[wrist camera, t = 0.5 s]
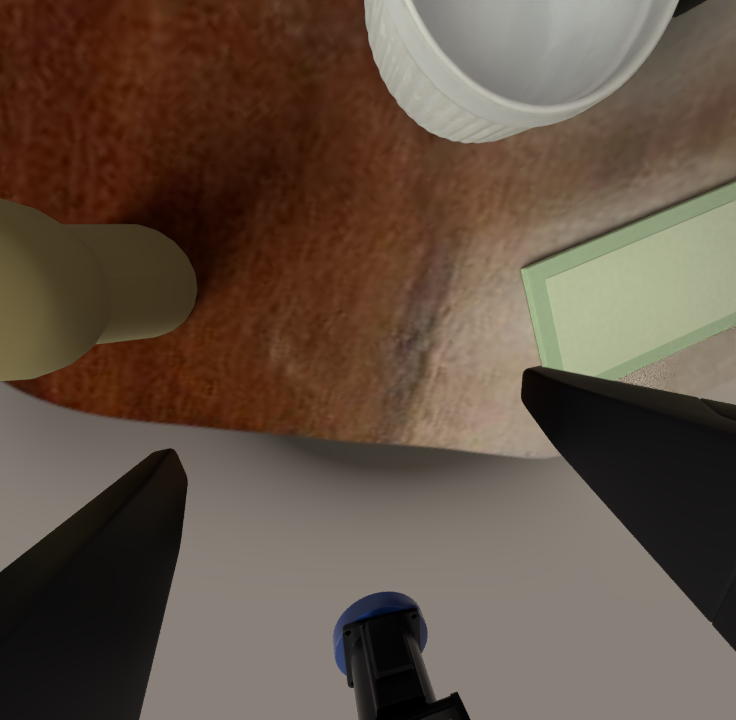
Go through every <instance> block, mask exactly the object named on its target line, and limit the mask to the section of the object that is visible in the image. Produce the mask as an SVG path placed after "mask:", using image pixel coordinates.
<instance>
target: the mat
mask: <svg viewBox="0 0 736 720" xmlns="http://www.w3.org/2000/svg"><path fill="white" fill-rule="evenodd" d="M521 273H522V278H523V282H524V287H525V291H526V296H527V300H528V305H529V309H530V314H531V318H532V323H533V327H534V332H535V336H536V341H537V345H538V349H539V354H540V358H541V363H542V366H543V367H548V368H553V369H558V370H563V371H568V372H573V373H578V374H583V375H588V376H593V377H598V378H603V379H608V380H613V381H615V380H617V379H619V378H621V377H624V376H626V375H628V374H630V373H632V372H635V371H637V370H639V369H641V368H643V367H645V366H648V365H650V364H652V363H654V362H656V361H659V360H661V359H663V358H665V357H667V356H669V355H672V354H674V353H676V352H678V351H680V350H683V349H685V348H687V347H689V346H691V345H693V344H696V343H698V342H700V341H702V340H704V339H707V338H709V337H711V336H713V335H715V334H717V333H720V332H722V331H724V330H726V329H728V328H731V327H733V326H735V325H736V180H735V181H733V182H731V183H728V184H726V185H723V186H721V187H718V188H716V189H714V190H711V191H709V192H706V193H704V194H701V195H699V196H696V197H694V198H692V199H689V200H687V201H684V202H682V203H679V204H677V205H675V206H672V207H670V208H667V209H665V210H662V211H660V212H658V213H655V214H653V215H650V216H648V217H645V218H643V219H640V220H638V221H636V222H633V223H631V224H628V225H626V226H623V227H621V228H619V229H616V230H614V231H611V232H609V233H606V234H604V235H601V236H599V237H597V238H594V239H592V240H589V241H587V242H584V243H582V244H580V245H577V246H575V247H572V248H570V249H567V250H565V251H562V252H560V253H558V254H555V255H553V256H550V257H548V258H545V259H543V260H541V261H538V262H536V263H533V264H531V265H528V266H526V267H523V268H521Z"/></svg>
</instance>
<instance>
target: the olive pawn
mask: <svg viewBox="0 0 736 720" xmlns="http://www.w3.org/2000/svg"><path fill="white" fill-rule="evenodd" d="M197 291H198V290H197V283H196V275H195V271H194V269H193V267H192V265H191V263H190V261H189V259H188V257H187V255H186V254H185V253H184V252H183V251H182V250H181V249H180V247H179V246H178V245H177V244H176V243H175V242H174V241H173V240H171V239H170V238H168V237H167V236H165V235H163V234H162V233H160V232H159V231H157V230H154V229H151V228H148V227H145V226H141V225H138V224H71V225H62V224H61V223H59V222H57V221H55V220H54V219H52V218H50V217H49V216H47V215H45V214H44V213H42V212H40V211H39V210H37V209H35V208H31V207H28V206H25V205H21V204H18V203H14V202H11V201H8V200H4V199H1V198H0V381H9V380H24V379H34V378H36V377H39V376H42V375H45V374H48V373H50V372H53V371H56V370H59V369H61V368H64V367H66V366H68V365H70V364H72V363H73V362H75V361H76V360H77V359H79V358H80V357H81V356H82V355H84V354H85V353H86V352H87V351H89V350H90V349H91V348H92V347H93V346H94V345H95V344H103V343H111V342H119V341H128V340H136V339H144V338H153V337H158V336H160V335H163V334H166V333H169V332H171V331H173V330H174V329H176V328H177V327H178V326H180V325H181V324H182V323H183V322H185V321H186V319H187V318H188V316H189V314H190V313H191V311H192V309H193V308H194V305H195V300H196V295H197Z"/></svg>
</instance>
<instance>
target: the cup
mask: <svg viewBox="0 0 736 720" xmlns="http://www.w3.org/2000/svg"><path fill="white" fill-rule="evenodd" d="M705 1H706V0H679V2H678V4H677V6H676V9H675V11H674V14H673V16H672V17H677V16H679V15H681V14H683V13H685V12H687V11H688V10H690V9H692V8H694V7H696V6H697V5H699V4H701V3H703V2H705Z"/></svg>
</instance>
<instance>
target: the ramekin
mask: <svg viewBox="0 0 736 720" xmlns="http://www.w3.org/2000/svg"><path fill="white" fill-rule="evenodd" d="M678 2H679V0H364V5H365V22H366V27H367V30H368V39H369V44H370V47H371V49H372V52H373V58H374V61H375V63H376V65H377V66H378V68H379V71H380V76H381V78H382V79H383V81H384V82H385V84H386V85H387V88H388V91H389V92H390V94H391V95H392V96H393V97H394V98H395V99H396V101H397V103H398V105H399V106H400V107H401V108H402V109H404V111H405V112H406V114H407V115H408V116H409V117H410V118H412V119H414V120H415V121H416V123H417V124H418V125H420V126H421V127H423V128H425V129H426V130H427V131H428V132H430V133H433V134H435V135H437V136H439V137H442V138H447V139H449V140H451V141H455V142H456V141H460V142H462V143H472V142H474V143H484V142H493V141H497V140H500V139H503V138H506V137H509V136H512V135H515V134H518V133H521V132H523V131H526V130H528V129H531V128H533V127H541V126H546V125H551V124H555V123H558V122H561V121H564V120H567V119H569V118H572V117H574V116H576V115H578V114H580V113H582V112H584V111H585V110H587V109H589V108H590V107H592V106H594V105H595V104H597V103H598V102H600V101H601V100H603V99H605V98H606V97H608V96H609V95H610V94H612V93H613V92H614V91H616V90H617V89H618V88H620V87H621V86H622V85H623V84H624V83H625V82H626V81H628V80H629V79H630V78H631V77H632V76H633V75H634V73H635V72H636V71H637V70H638V69H639V68H640V66H641V65H642V64H643V63H644V62H645V60H646V59H647V58H648V57H649V55H650V54H651V53H652V51H653V50H654V48H655V47H656V45H657V43H658V42H659V40H660V39H661V37H662V35H663V33H664V32H665V30H666V28H667V26H668V24H669V22H670V20H671V18H672V16H673V14H674V11H675V9H676V6H677V4H678Z"/></svg>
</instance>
